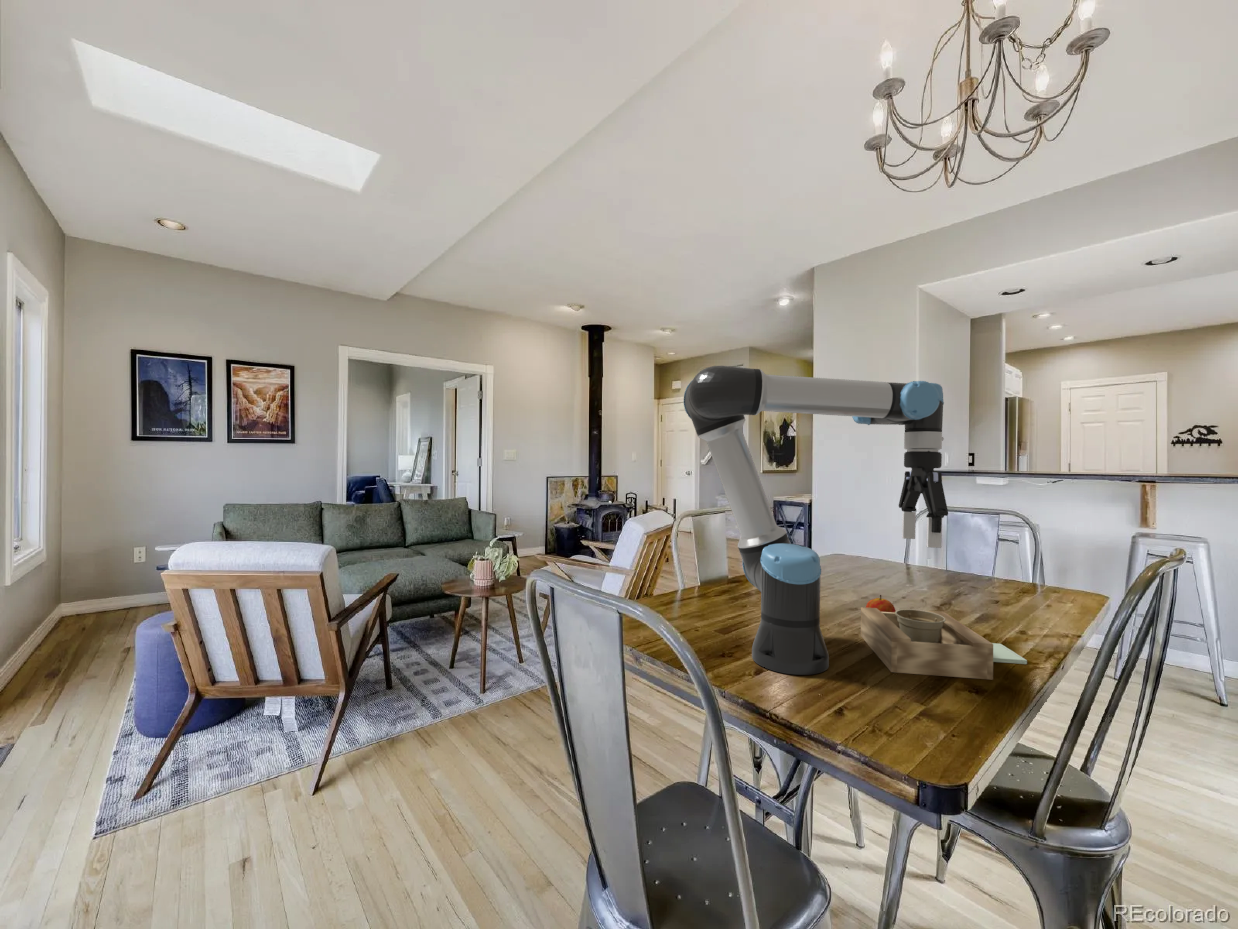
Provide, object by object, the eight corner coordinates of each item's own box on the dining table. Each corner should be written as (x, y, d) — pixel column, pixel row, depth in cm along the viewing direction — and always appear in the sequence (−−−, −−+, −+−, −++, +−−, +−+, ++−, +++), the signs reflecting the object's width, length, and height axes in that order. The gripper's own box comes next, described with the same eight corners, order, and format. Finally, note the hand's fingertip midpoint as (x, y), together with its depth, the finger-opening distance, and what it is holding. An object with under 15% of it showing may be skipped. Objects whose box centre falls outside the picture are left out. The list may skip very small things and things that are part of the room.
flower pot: (953, 665, 106) (953, 623, 106) (902, 661, 108) (903, 620, 108) (934, 649, 115) (935, 610, 115) (888, 646, 117) (889, 607, 117)
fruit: (868, 620, 137) (868, 589, 137) (897, 625, 133) (898, 594, 133) (862, 627, 131) (862, 595, 131) (893, 632, 127) (893, 599, 127)
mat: (973, 660, 109) (973, 656, 109) (951, 644, 119) (951, 640, 119) (1026, 664, 107) (1026, 660, 107) (1000, 647, 117) (1000, 643, 117)
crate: (891, 672, 103) (891, 637, 103) (860, 635, 124) (860, 607, 124) (992, 679, 99) (993, 644, 99) (943, 641, 121) (943, 611, 121)
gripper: (968, 449, 107) (965, 552, 108) (917, 452, 132) (915, 536, 132) (929, 449, 108) (926, 550, 109) (885, 451, 133) (883, 534, 133)
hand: (920, 542), depth 120 cm, fingers open, 13 cm apart
